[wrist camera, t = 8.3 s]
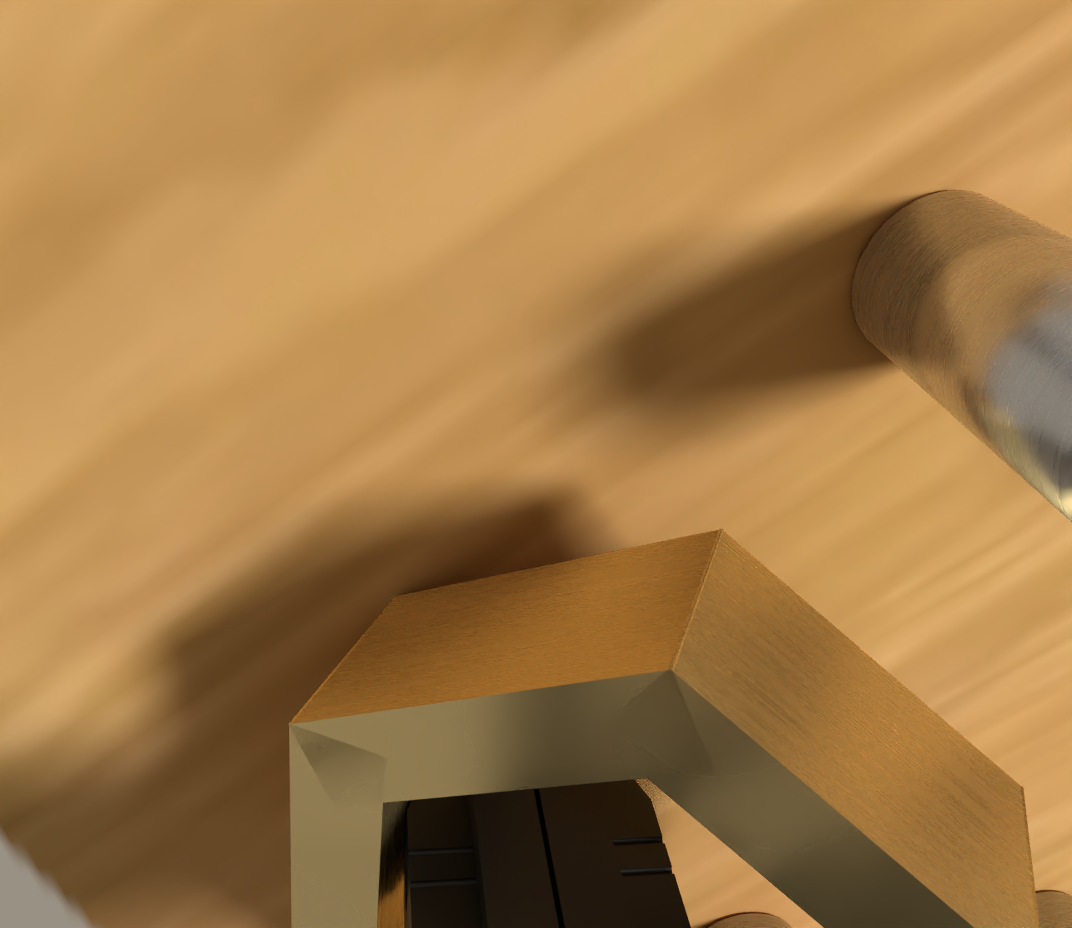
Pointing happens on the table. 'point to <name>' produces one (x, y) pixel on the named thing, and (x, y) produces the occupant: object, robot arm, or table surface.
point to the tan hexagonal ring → (655, 739)
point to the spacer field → (977, 350)
